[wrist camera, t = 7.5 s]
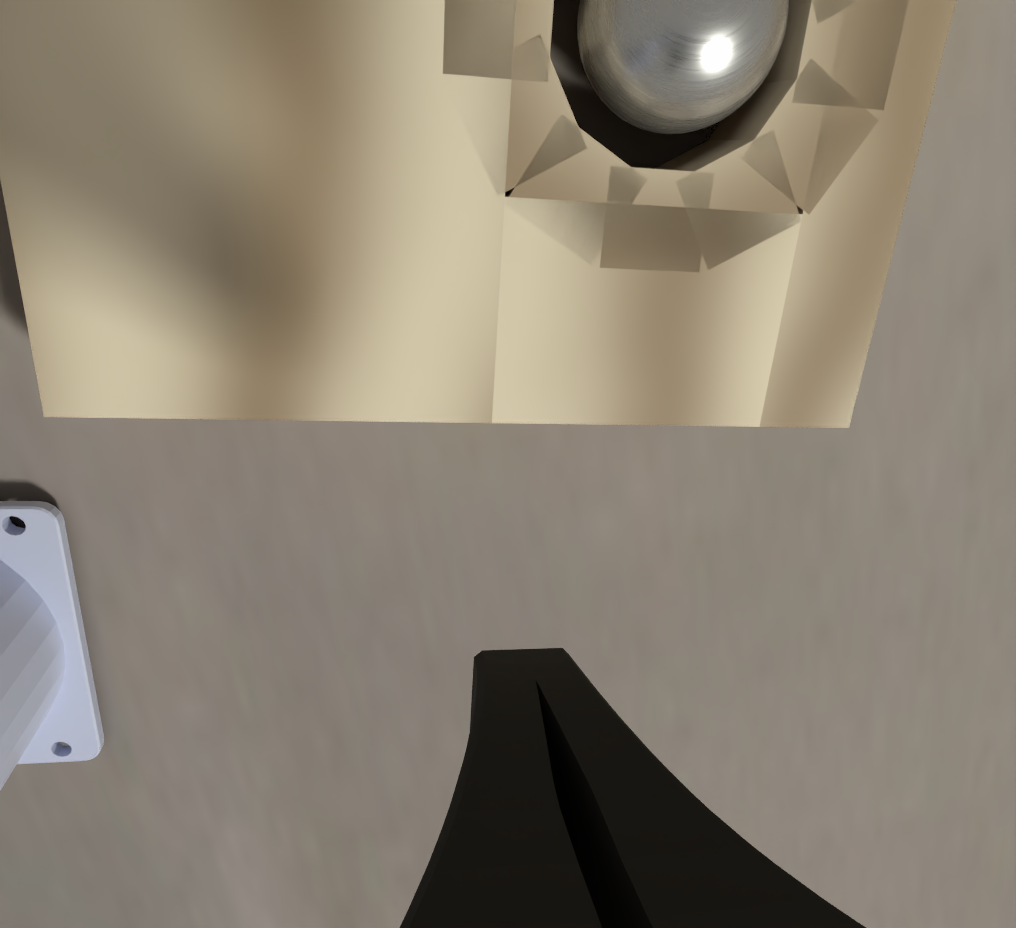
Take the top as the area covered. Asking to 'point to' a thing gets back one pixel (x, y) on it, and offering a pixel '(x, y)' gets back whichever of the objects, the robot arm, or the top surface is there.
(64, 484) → the top surface
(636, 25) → the steel ball
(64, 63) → the hole plate
